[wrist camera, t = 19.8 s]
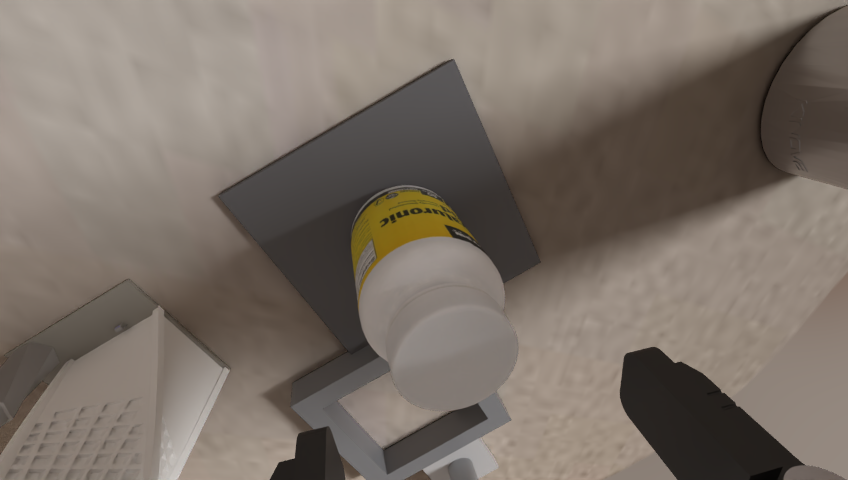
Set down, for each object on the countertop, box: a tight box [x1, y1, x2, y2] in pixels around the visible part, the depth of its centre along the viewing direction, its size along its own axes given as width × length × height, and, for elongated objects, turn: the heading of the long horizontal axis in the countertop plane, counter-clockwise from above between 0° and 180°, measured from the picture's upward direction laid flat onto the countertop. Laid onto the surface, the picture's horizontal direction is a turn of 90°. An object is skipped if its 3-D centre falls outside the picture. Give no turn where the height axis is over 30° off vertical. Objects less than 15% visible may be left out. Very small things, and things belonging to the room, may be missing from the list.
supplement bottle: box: [351, 185, 518, 411], centre depth 17 cm, size 5×5×10 cm
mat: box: [218, 59, 540, 355], centre depth 21 cm, size 12×12×1 cm
